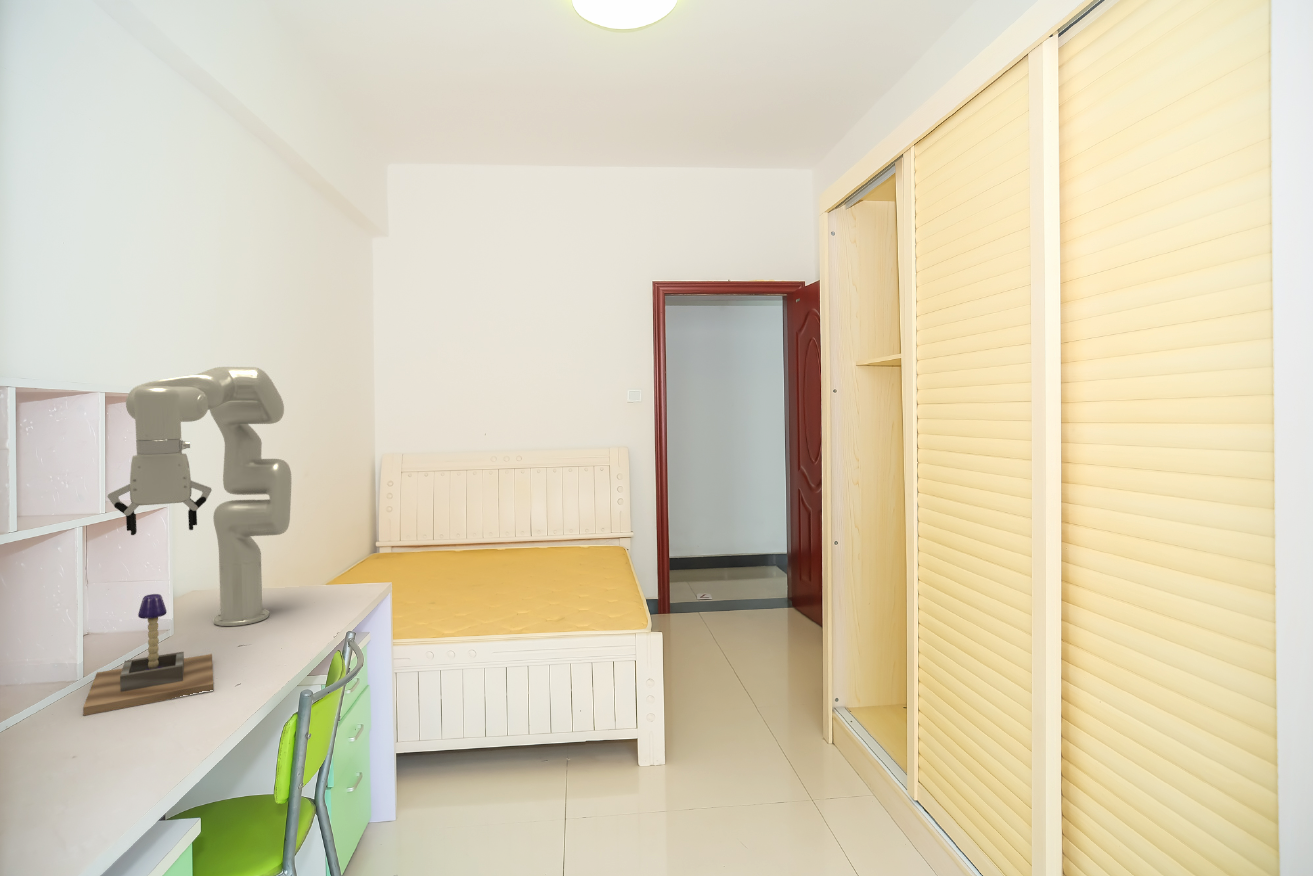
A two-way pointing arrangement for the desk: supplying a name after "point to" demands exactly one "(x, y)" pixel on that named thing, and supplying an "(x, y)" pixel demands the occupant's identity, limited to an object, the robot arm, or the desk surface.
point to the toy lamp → (152, 625)
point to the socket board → (149, 682)
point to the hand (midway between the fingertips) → (163, 531)
